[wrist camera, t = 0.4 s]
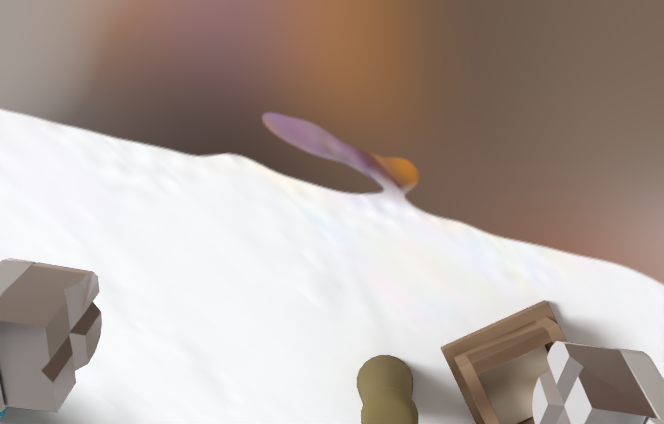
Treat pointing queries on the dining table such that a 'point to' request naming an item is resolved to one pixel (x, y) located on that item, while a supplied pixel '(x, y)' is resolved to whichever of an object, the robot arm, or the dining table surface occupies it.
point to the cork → (386, 392)
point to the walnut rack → (504, 364)
